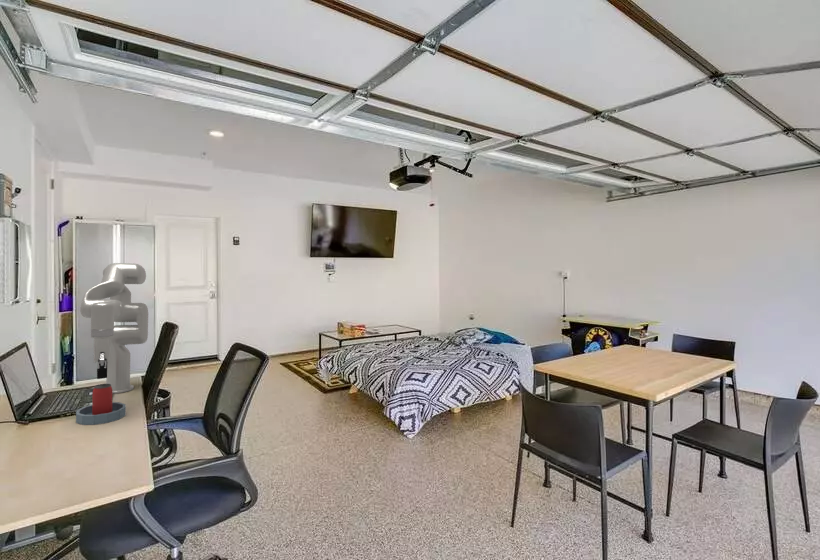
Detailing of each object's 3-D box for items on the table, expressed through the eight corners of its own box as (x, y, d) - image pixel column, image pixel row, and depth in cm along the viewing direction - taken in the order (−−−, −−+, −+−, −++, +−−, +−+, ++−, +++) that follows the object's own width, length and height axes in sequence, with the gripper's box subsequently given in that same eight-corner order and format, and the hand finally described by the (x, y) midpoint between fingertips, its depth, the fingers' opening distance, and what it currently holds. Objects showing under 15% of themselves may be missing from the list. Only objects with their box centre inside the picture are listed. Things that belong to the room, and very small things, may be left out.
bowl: (77, 414, 172) (77, 406, 172) (124, 408, 181) (125, 400, 181) (74, 427, 159) (74, 418, 159) (126, 419, 168) (126, 411, 168)
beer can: (116, 412, 174) (116, 383, 173) (103, 418, 167) (103, 388, 167) (101, 411, 174) (101, 382, 174) (87, 417, 168) (88, 387, 167)
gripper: (91, 329, 174) (91, 370, 175) (89, 337, 160) (89, 382, 161) (113, 328, 178) (113, 368, 179) (114, 336, 164) (113, 379, 165)
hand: (102, 375), depth 170 cm, fingers open, 9 cm apart
